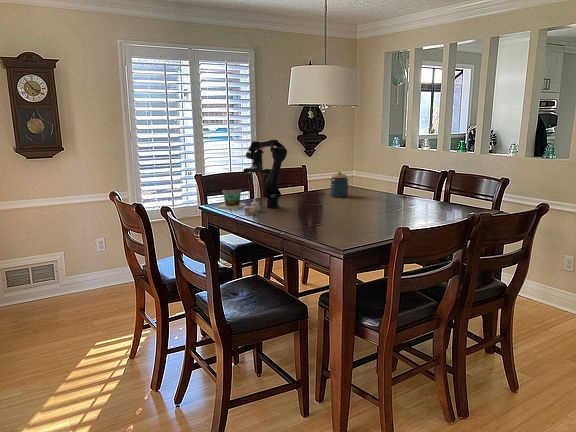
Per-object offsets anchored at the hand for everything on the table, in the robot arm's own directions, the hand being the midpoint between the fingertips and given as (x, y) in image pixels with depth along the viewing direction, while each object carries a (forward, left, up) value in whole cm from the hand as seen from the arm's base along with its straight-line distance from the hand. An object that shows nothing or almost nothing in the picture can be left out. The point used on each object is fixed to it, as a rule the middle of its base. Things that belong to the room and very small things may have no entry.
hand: (258, 183), depth 305 cm
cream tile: (+12, +14, -13) cm, 23 cm away
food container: (+12, +15, -12) cm, 23 cm away
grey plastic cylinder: (-7, +23, -13) cm, 27 cm away
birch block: (-8, +34, -13) cm, 37 cm away
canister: (-45, -42, -13) cm, 63 cm away
